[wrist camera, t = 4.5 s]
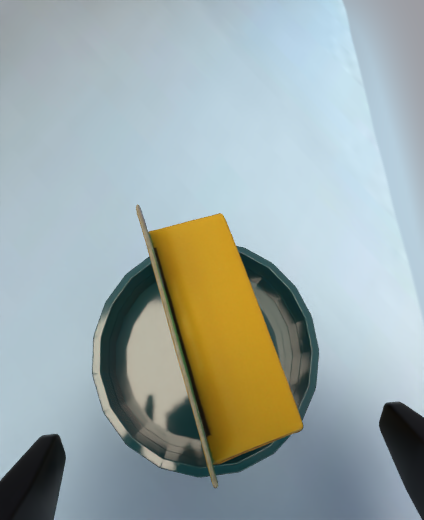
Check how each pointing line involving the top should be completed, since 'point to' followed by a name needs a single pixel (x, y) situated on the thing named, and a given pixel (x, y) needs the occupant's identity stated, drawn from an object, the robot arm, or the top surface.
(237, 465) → the tin
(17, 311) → the top surface
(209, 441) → the crayon box
